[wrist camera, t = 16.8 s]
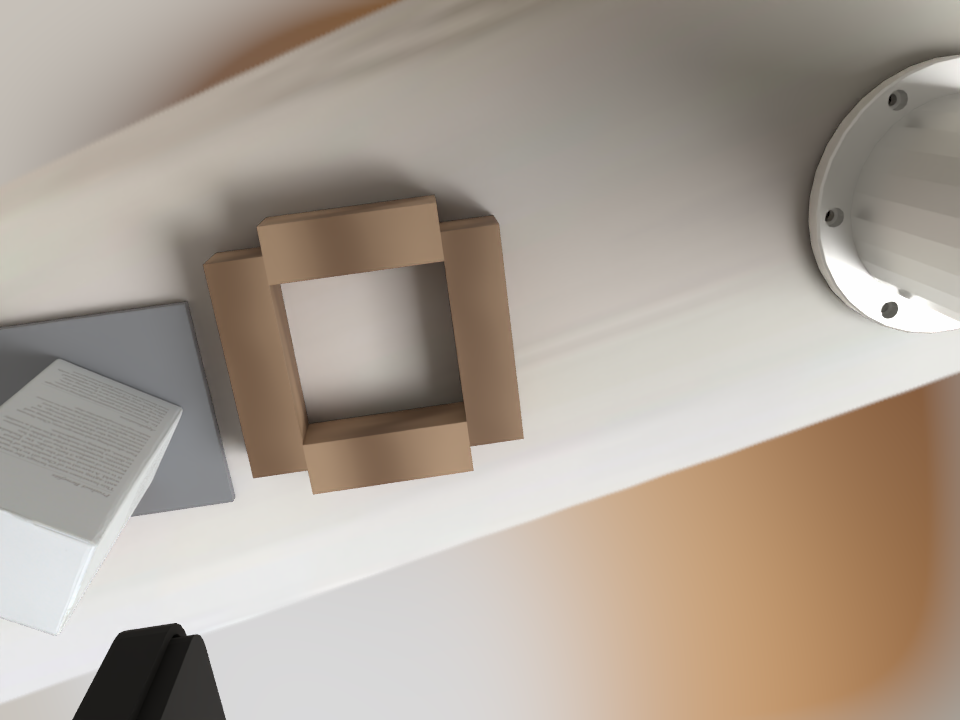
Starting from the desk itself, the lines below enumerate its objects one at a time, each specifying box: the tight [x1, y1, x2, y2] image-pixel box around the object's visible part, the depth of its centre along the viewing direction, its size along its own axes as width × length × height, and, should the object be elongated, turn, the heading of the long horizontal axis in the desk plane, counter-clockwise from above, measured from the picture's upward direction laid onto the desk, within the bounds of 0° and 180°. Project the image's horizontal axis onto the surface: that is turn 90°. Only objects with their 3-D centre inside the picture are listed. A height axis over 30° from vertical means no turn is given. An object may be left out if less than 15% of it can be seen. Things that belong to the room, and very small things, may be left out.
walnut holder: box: [203, 195, 524, 494], centre depth 38 cm, size 12×12×2 cm
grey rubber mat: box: [0, 302, 235, 517], centre depth 39 cm, size 10×10×1 cm
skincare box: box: [0, 359, 183, 636], centre depth 33 cm, size 6×4×12 cm
